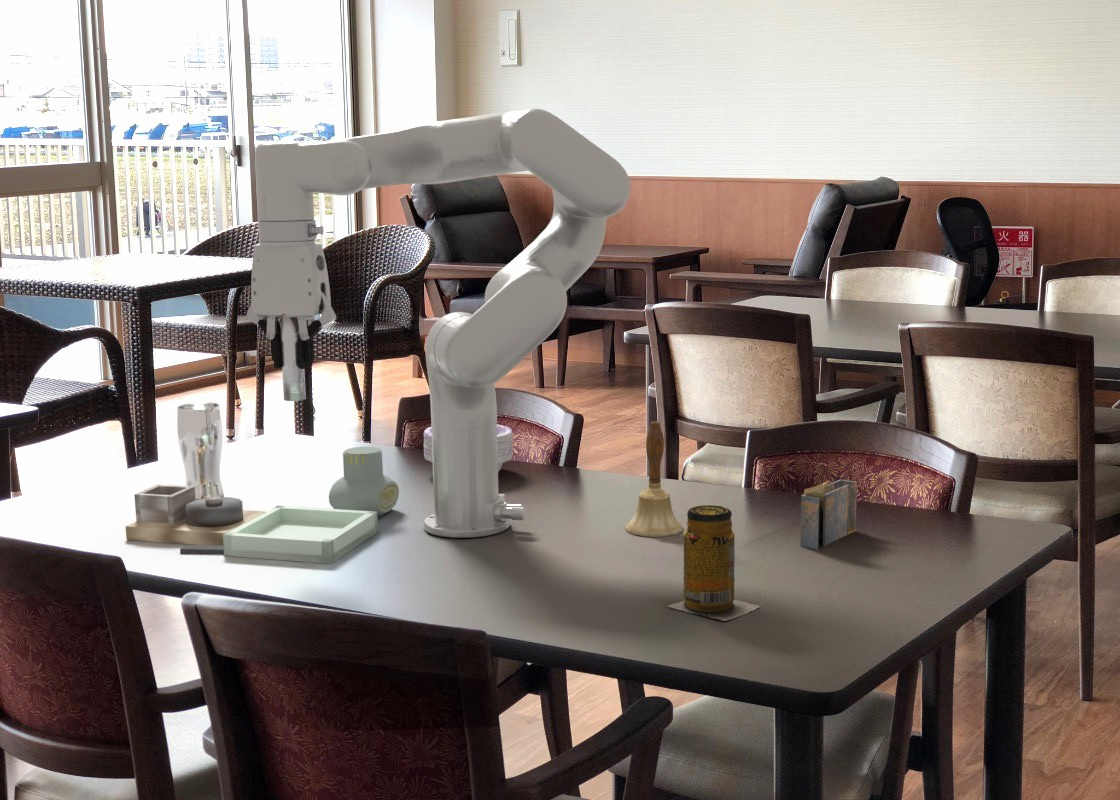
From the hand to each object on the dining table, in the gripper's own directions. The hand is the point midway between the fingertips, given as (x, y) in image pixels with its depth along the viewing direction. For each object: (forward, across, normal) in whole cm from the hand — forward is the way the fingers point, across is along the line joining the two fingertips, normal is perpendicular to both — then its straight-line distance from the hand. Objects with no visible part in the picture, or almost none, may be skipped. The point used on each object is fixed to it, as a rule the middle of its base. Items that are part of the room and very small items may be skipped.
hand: (293, 366), depth 187 cm
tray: (+26, 0, 0) cm, 26 cm away
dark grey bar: (+26, +8, +6) cm, 27 cm away
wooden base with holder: (+26, +18, -2) cm, 31 cm away
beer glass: (+26, +28, -21) cm, 43 cm away
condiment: (+26, -61, +14) cm, 68 cm away
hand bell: (+26, -47, -18) cm, 57 cm away
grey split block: (+26, -72, -19) cm, 79 cm away
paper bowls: (+26, -9, -45) cm, 53 cm away
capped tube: (+5, 0, 0) cm, 5 cm away
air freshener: (+26, -2, -17) cm, 31 cm away
